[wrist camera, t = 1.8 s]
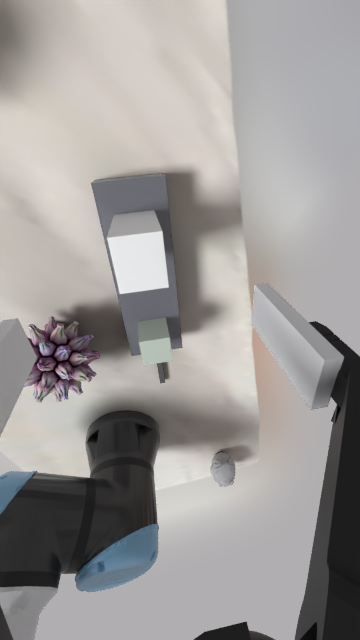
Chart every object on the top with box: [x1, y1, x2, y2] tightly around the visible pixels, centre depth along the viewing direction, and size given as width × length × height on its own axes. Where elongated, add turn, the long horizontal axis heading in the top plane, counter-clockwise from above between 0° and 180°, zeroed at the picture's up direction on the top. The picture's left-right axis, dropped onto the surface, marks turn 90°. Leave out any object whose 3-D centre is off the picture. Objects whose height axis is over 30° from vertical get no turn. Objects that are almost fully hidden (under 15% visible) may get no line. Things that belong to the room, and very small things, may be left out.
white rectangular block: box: [107, 210, 169, 294], centre depth 28 cm, size 5×5×11 cm
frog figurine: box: [211, 452, 235, 487], centre depth 64 cm, size 6×7×7 cm
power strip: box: [91, 173, 182, 383], centre depth 39 cm, size 34×8×5 cm, turn 5°
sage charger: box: [138, 317, 173, 365], centre depth 37 cm, size 4×4×5 cm
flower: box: [24, 317, 100, 403], centre depth 37 cm, size 12×12×12 cm
